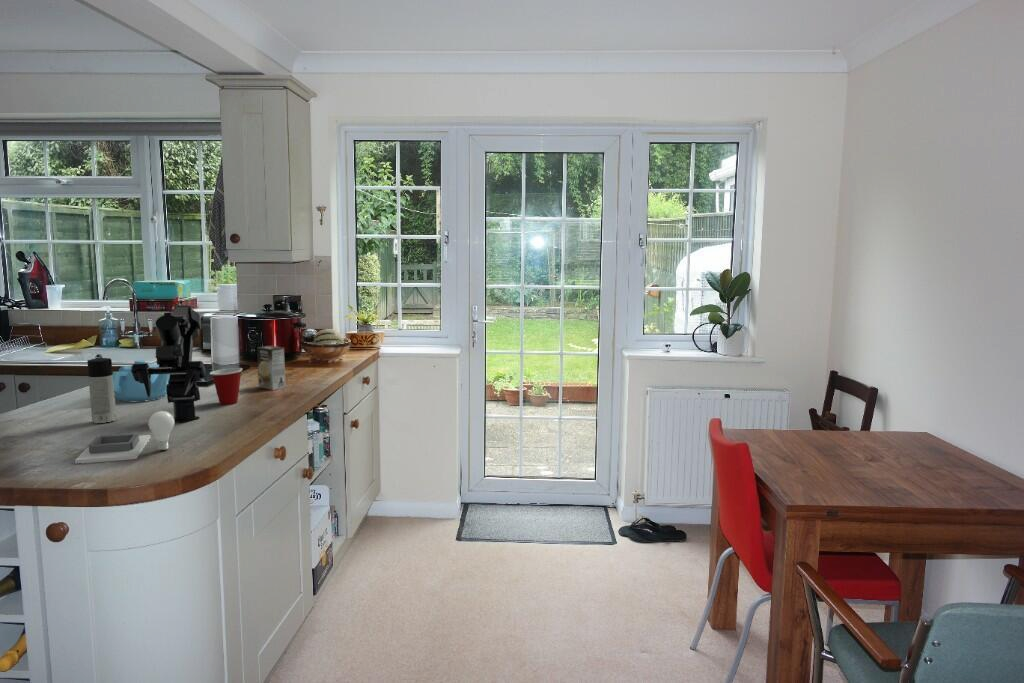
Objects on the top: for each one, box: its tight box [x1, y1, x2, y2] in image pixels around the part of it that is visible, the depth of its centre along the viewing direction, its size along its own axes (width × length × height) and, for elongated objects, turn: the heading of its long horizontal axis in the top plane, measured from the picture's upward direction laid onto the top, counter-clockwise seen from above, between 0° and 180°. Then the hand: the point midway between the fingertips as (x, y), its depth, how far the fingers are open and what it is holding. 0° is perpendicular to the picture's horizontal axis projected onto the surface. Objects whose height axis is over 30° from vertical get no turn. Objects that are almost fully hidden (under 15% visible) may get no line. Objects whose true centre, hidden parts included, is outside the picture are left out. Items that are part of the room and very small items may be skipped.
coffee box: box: [256, 345, 286, 391], centre depth 267 cm, size 9×6×16 cm
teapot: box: [113, 359, 170, 402], centre depth 249 cm, size 19×19×14 cm
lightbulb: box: [147, 410, 176, 451], centre depth 186 cm, size 6×6×11 cm
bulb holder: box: [74, 432, 152, 465], centre depth 186 cm, size 20×14×3 cm
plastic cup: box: [209, 367, 243, 406], centre depth 241 cm, size 11×11×12 cm
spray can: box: [86, 357, 117, 424], centre depth 214 cm, size 7×7×20 cm
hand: (166, 395), depth 192 cm, fingers open, 9 cm apart
